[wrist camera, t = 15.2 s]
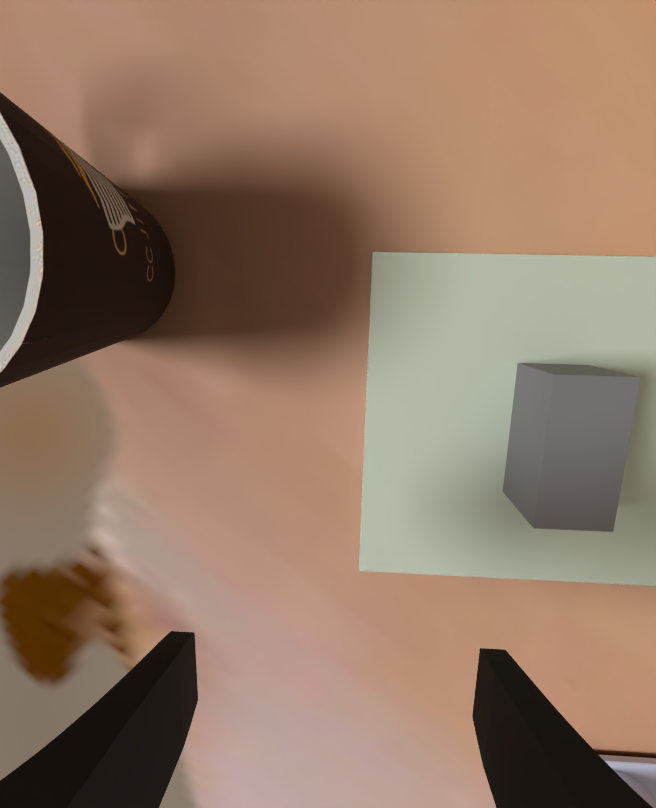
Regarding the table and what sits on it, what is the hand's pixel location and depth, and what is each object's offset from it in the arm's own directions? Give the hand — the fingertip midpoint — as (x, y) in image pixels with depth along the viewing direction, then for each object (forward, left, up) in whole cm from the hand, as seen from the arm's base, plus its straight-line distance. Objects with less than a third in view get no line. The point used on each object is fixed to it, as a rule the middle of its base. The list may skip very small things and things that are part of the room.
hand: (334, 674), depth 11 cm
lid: (+4, -9, -11) cm, 15 cm away
